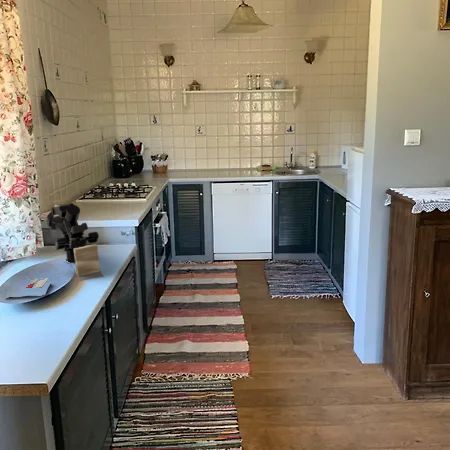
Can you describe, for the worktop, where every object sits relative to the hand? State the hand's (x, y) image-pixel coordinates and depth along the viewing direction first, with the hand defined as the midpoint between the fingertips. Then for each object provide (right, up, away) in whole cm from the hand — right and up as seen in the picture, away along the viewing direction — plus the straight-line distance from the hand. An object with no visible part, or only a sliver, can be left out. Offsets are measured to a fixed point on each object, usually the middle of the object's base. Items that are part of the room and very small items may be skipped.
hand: (83, 256), depth 210 cm
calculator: (-16, -14, -20) cm, 29 cm away
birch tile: (+3, -7, -3) cm, 8 cm away
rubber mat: (+3, -8, -3) cm, 9 cm away
